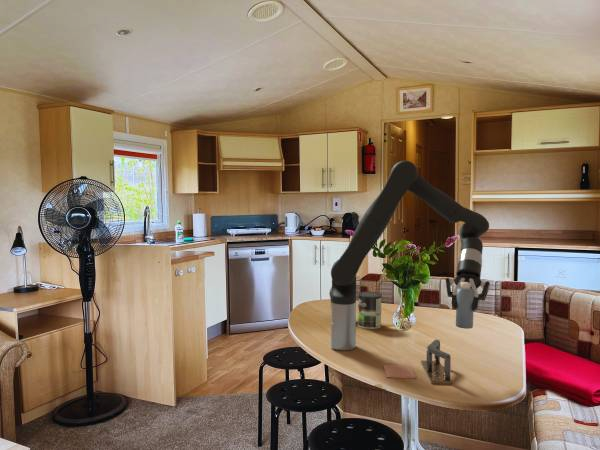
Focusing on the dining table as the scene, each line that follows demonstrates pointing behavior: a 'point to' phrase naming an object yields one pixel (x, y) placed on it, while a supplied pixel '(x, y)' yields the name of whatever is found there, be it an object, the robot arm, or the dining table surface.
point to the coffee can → (369, 310)
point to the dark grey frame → (437, 364)
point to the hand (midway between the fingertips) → (464, 308)
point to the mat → (399, 371)
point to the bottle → (464, 306)
